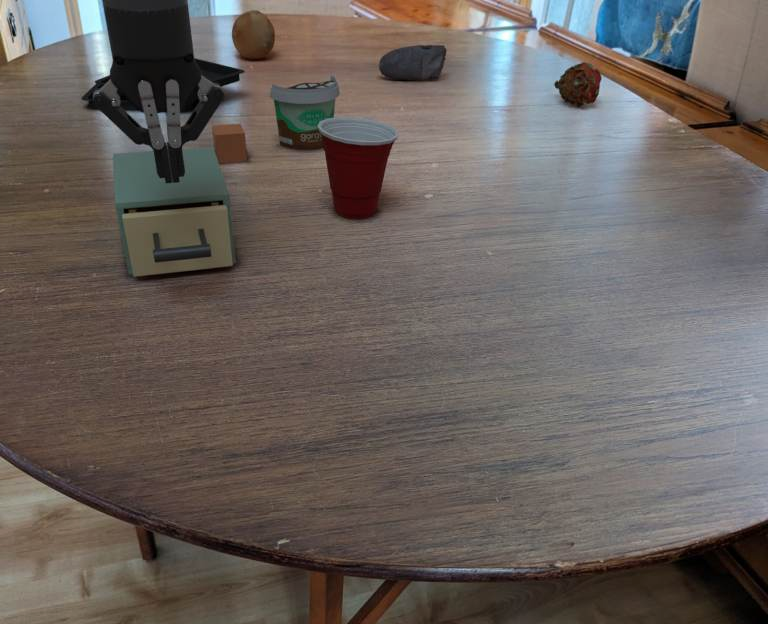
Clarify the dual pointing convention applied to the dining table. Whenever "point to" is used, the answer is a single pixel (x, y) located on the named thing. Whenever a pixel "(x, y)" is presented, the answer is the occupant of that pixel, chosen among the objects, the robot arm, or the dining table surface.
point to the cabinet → (167, 185)
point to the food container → (303, 112)
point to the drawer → (178, 237)
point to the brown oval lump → (253, 35)
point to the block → (229, 143)
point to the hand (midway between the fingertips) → (171, 180)
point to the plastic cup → (356, 162)
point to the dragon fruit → (579, 84)
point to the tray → (210, 72)
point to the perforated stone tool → (414, 62)
